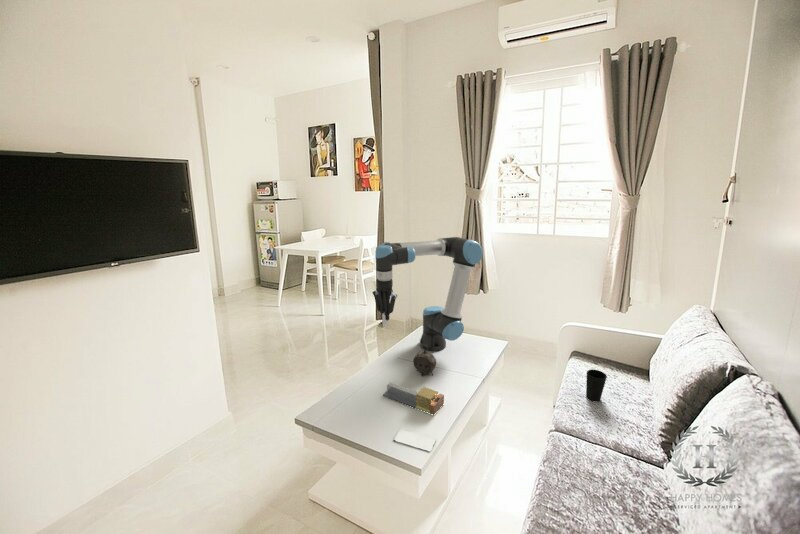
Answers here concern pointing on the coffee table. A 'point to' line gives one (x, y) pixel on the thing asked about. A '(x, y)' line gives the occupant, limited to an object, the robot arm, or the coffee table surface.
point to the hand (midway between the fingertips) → (385, 325)
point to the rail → (411, 397)
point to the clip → (425, 398)
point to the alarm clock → (424, 362)
